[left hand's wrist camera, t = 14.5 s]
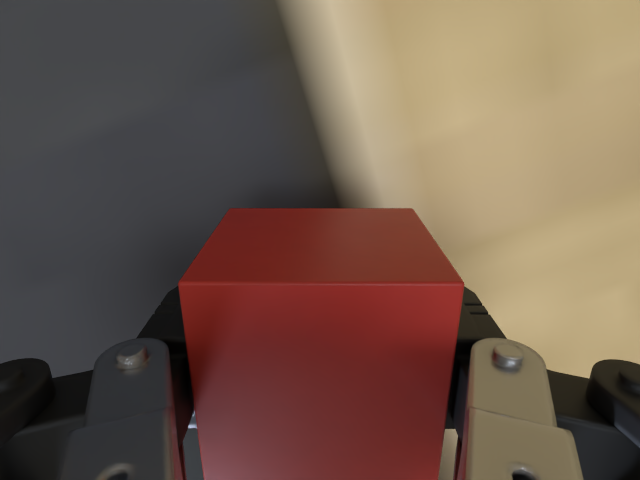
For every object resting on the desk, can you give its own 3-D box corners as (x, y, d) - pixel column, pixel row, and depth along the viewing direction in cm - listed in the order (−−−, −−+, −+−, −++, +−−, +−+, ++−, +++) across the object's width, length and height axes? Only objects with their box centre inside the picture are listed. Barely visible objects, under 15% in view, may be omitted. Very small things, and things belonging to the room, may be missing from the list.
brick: (413, 207, 12) (465, 282, 7) (400, 363, 13) (437, 494, 9) (228, 207, 12) (176, 282, 7) (241, 362, 13) (204, 494, 9)
